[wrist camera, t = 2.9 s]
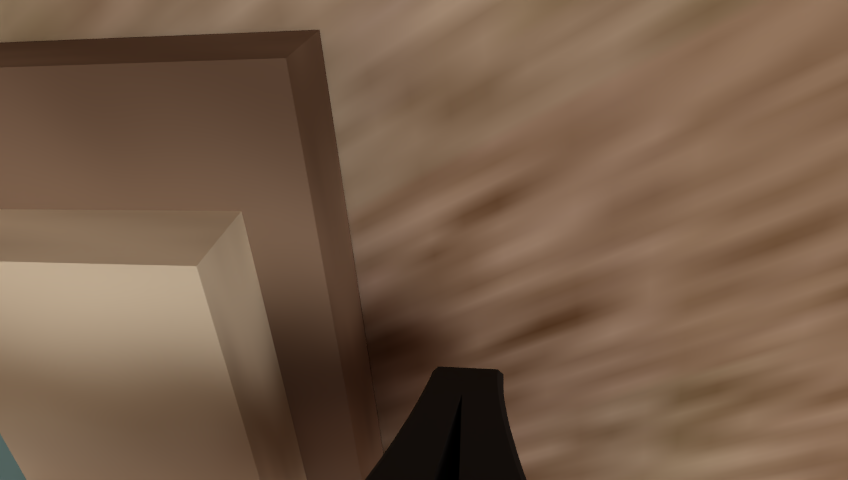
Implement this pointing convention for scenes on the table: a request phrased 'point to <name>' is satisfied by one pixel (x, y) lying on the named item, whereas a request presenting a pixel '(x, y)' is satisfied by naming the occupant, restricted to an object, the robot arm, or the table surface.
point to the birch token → (138, 349)
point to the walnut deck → (213, 188)
